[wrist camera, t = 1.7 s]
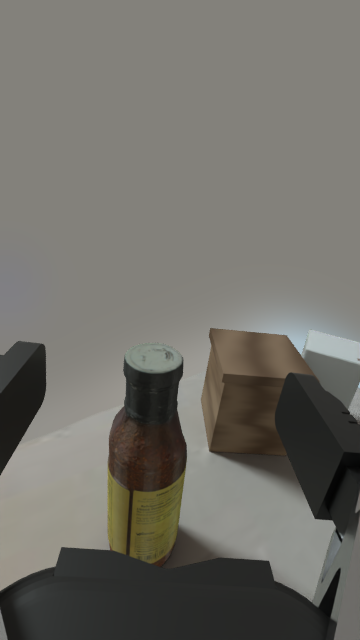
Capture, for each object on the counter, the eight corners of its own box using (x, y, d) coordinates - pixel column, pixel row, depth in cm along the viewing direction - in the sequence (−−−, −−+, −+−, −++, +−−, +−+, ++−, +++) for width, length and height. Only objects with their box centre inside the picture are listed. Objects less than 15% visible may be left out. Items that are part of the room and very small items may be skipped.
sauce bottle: (183, 524, 32) (219, 350, 24) (158, 592, 27) (193, 398, 18) (124, 497, 34) (139, 327, 26) (89, 557, 28) (93, 364, 20)
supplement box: (334, 412, 52) (363, 342, 46) (334, 443, 45) (368, 366, 40) (287, 395, 54) (309, 327, 49) (281, 423, 48) (305, 348, 42)
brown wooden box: (266, 402, 52) (286, 335, 47) (291, 459, 42) (319, 381, 37) (197, 397, 50) (210, 328, 45) (205, 454, 41) (223, 373, 36)
